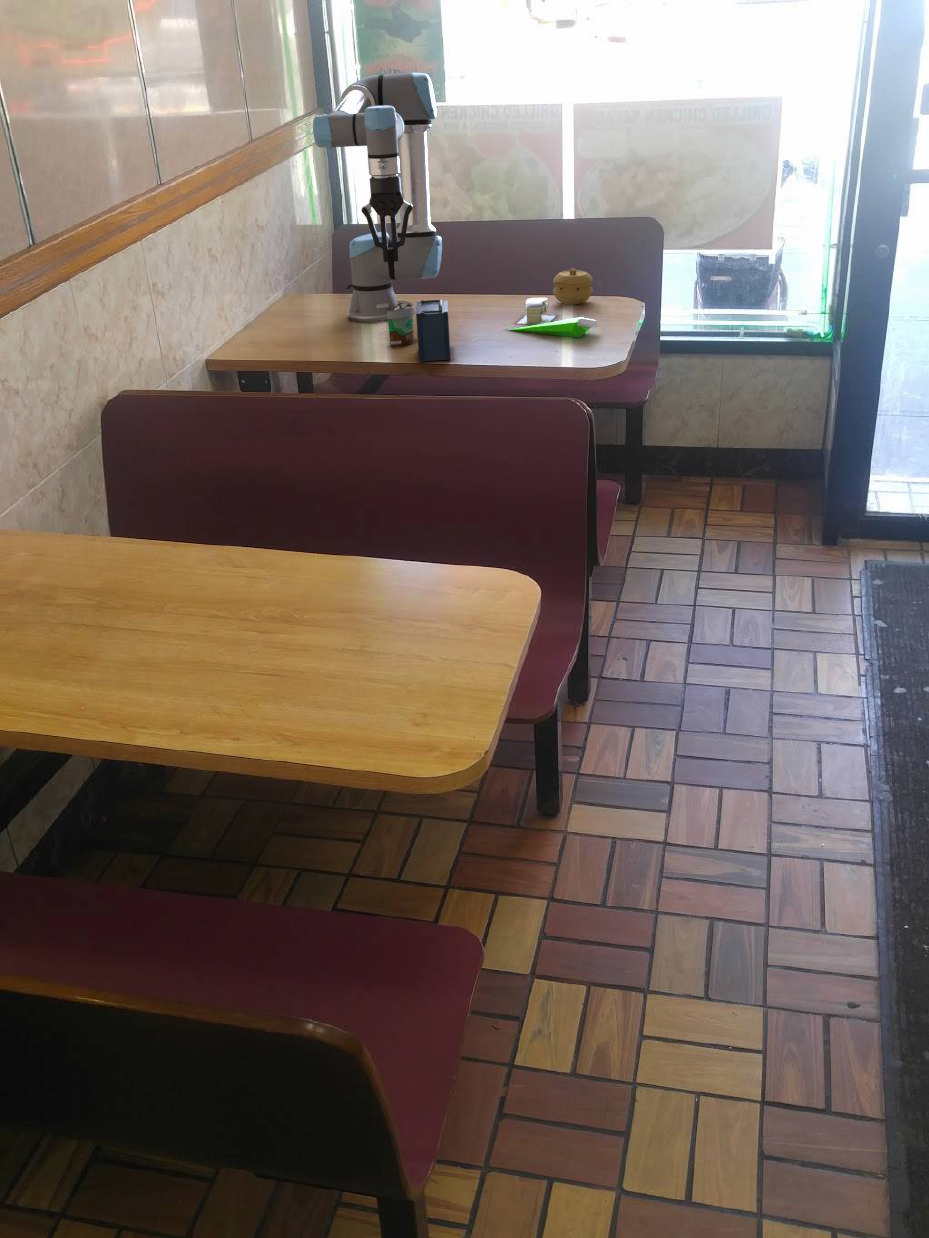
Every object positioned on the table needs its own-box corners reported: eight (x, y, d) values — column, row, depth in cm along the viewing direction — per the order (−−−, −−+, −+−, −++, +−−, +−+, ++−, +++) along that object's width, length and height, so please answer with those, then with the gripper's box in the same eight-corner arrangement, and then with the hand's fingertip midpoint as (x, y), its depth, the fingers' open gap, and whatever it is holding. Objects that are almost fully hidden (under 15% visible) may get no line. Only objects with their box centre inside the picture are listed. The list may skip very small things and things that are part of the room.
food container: (411, 349, 302) (408, 311, 297) (389, 348, 303) (386, 311, 299) (422, 336, 313) (419, 300, 308) (400, 336, 314) (398, 300, 309)
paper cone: (498, 342, 310) (580, 335, 298) (497, 322, 309) (580, 314, 297) (517, 344, 320) (598, 338, 307) (516, 324, 319) (598, 317, 306)
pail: (420, 349, 302) (416, 299, 295) (450, 347, 302) (447, 297, 295) (419, 363, 290) (415, 311, 284) (450, 361, 290) (447, 310, 284)
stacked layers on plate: (546, 324, 317) (546, 305, 315) (516, 323, 320) (515, 304, 317) (556, 316, 325) (556, 296, 323) (526, 314, 328) (526, 295, 326)
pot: (545, 304, 339) (544, 270, 334) (571, 296, 345) (571, 262, 340) (574, 309, 331) (574, 275, 326) (600, 301, 338) (601, 267, 333)
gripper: (357, 179, 271) (365, 279, 282) (411, 176, 271) (417, 276, 282) (358, 175, 278) (367, 273, 289) (411, 172, 277) (418, 270, 289)
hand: (392, 275), depth 285 cm, fingers closed
